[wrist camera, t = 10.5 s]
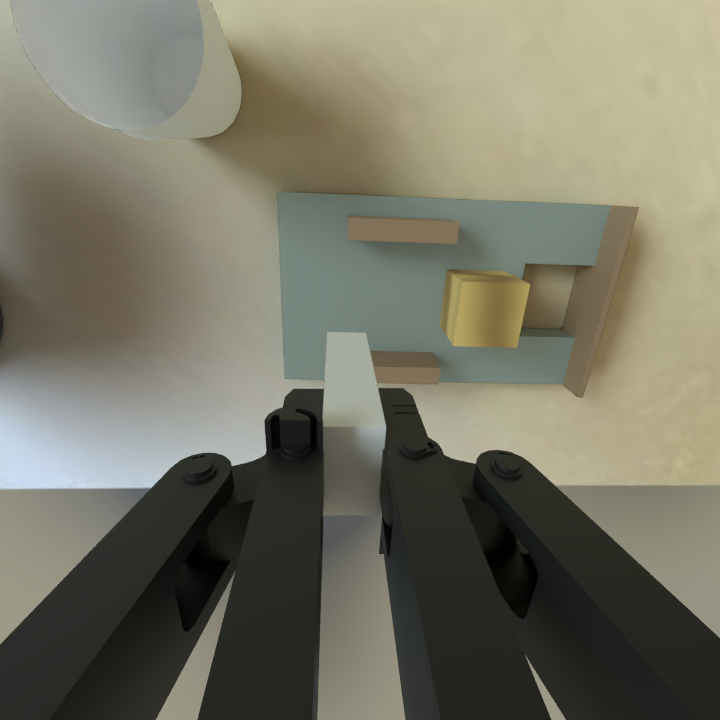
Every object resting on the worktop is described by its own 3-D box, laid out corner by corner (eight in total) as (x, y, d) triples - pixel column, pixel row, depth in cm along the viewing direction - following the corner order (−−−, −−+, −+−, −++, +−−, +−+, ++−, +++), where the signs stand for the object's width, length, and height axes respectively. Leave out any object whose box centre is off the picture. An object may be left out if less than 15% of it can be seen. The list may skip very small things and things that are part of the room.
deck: (288, 368, 39) (278, 396, 33) (281, 191, 32) (269, 191, 27) (555, 373, 40) (588, 402, 35) (598, 205, 34) (647, 207, 28)
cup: (277, 129, 31) (240, 94, 20) (174, 172, 32) (83, 161, 21) (224, -12, 27) (141, -150, 16) (110, 40, 28) (-41, -56, 17)
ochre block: (439, 325, 35) (453, 346, 30) (446, 269, 33) (462, 281, 28) (494, 327, 35) (516, 347, 31) (504, 271, 33) (530, 283, 29)
